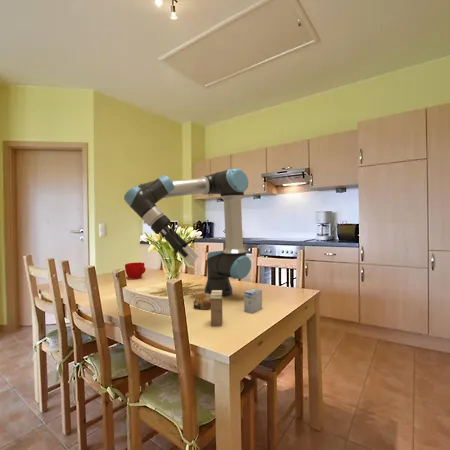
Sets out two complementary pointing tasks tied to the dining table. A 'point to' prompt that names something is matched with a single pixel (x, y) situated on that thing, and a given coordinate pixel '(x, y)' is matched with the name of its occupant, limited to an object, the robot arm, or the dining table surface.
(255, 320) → the dining table surface
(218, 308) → the walnut block
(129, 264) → the ceramic cup
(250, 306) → the medicine box
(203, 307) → the bread roll
